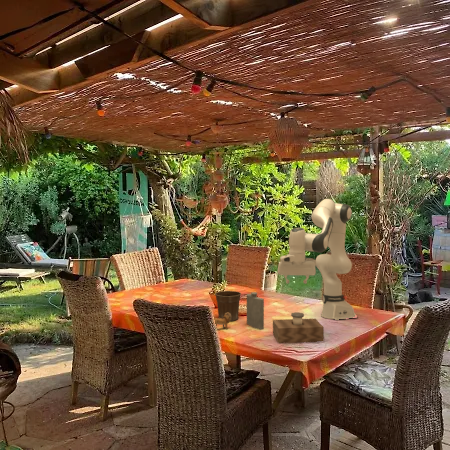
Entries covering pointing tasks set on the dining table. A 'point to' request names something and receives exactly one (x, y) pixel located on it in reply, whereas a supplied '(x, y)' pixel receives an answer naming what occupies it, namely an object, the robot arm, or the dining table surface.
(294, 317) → the knob
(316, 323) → the block
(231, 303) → the plant pot
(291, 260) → the robot arm
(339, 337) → the dining table surface
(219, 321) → the lion figurine
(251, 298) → the hip flask
